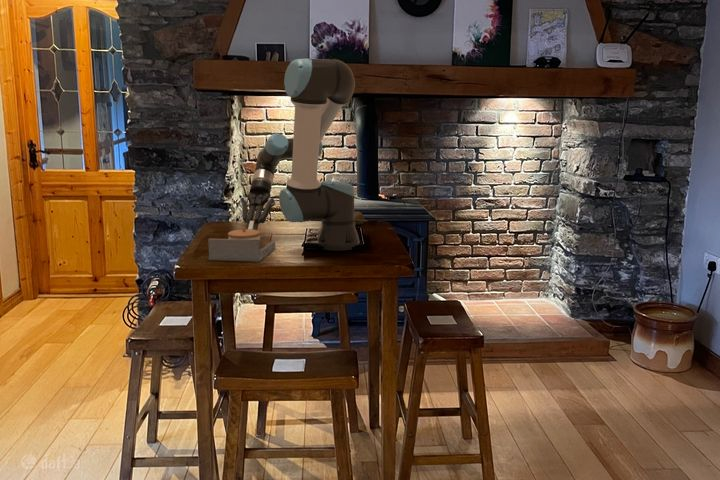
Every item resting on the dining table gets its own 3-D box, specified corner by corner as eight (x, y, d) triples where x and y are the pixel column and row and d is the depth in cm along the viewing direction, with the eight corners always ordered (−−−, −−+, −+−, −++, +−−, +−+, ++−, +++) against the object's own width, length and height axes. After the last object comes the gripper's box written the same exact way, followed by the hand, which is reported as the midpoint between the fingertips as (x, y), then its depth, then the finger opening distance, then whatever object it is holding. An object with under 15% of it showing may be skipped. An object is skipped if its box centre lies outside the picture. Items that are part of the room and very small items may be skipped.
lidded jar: (254, 258, 214) (253, 231, 212) (224, 257, 216) (222, 230, 214) (265, 251, 224) (264, 224, 222) (236, 250, 226) (234, 224, 224)
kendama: (328, 223, 276) (372, 225, 268) (318, 228, 267) (363, 230, 259) (328, 209, 274) (371, 211, 267) (318, 214, 266) (362, 216, 258)
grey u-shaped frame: (275, 248, 228) (274, 229, 226) (259, 261, 210) (258, 240, 208) (229, 247, 230) (228, 228, 229) (209, 260, 213) (208, 239, 211)
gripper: (280, 191, 241) (269, 244, 228) (247, 190, 243) (234, 243, 230) (276, 178, 234) (264, 232, 222) (242, 178, 236) (228, 232, 224)
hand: (249, 238), depth 226 cm, fingers closed
